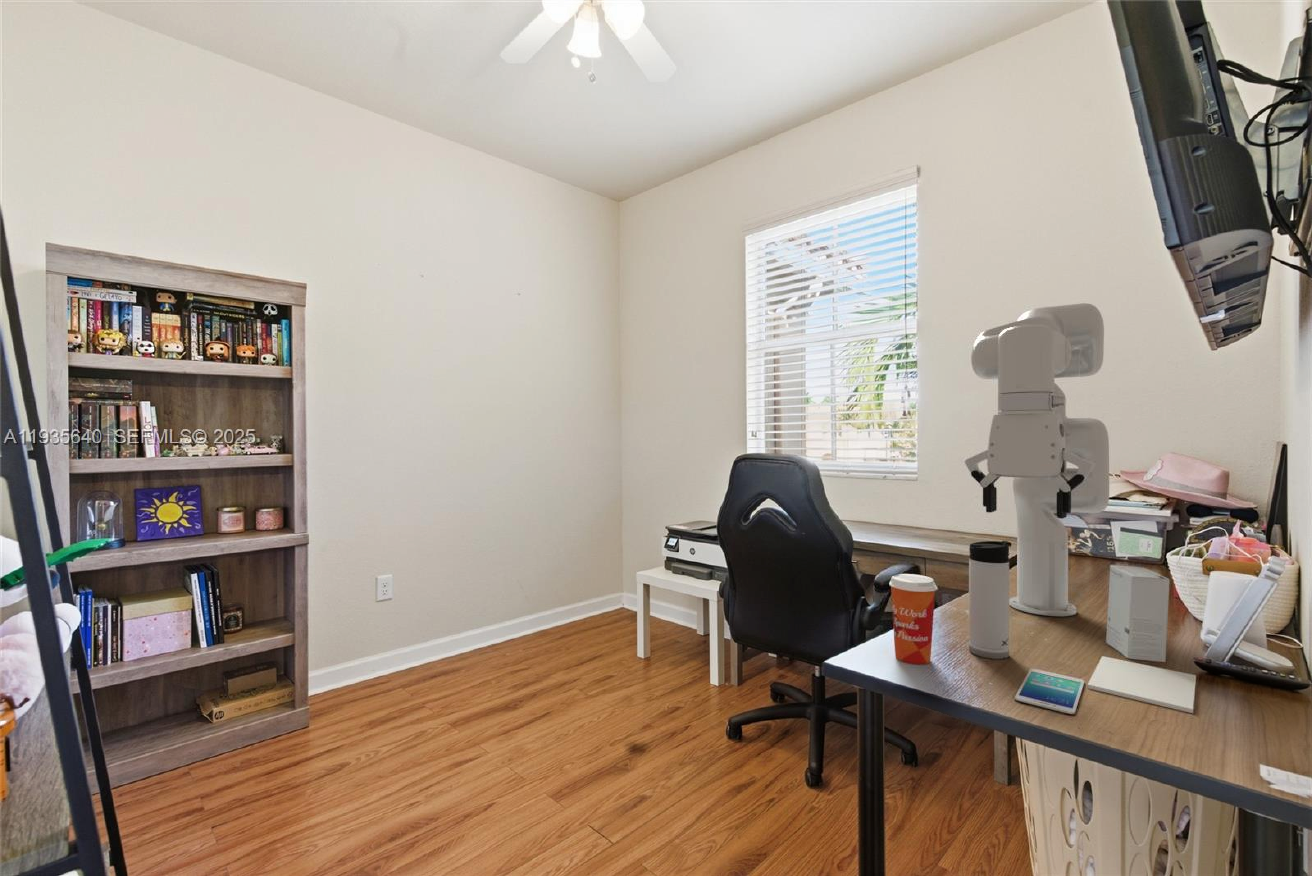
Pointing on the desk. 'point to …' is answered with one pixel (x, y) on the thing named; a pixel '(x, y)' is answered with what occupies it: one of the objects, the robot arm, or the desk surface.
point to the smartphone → (1050, 691)
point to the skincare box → (1138, 613)
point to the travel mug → (989, 599)
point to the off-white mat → (1145, 683)
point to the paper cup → (913, 617)
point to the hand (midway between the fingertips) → (1025, 514)
